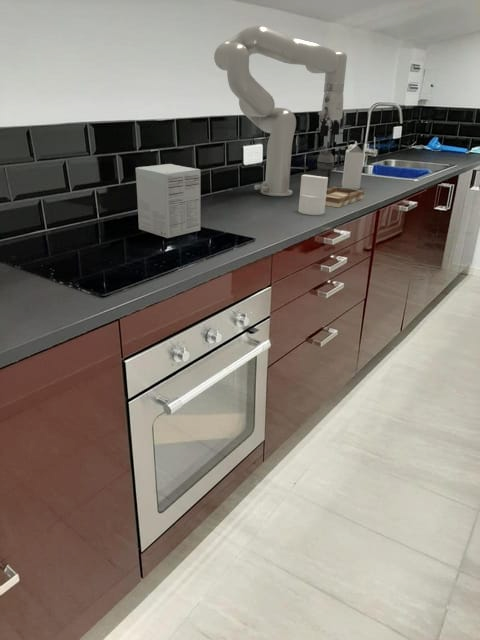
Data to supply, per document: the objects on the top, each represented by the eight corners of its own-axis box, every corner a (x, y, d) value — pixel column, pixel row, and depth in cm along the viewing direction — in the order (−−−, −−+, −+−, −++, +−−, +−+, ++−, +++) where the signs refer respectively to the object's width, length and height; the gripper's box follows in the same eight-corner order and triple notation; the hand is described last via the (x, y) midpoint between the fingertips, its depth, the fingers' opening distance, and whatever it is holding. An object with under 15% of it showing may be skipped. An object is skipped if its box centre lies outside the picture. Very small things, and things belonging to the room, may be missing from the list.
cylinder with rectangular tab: (328, 211, 173) (332, 176, 167) (318, 216, 166) (322, 179, 160) (304, 207, 177) (307, 173, 171) (294, 212, 170) (297, 176, 164)
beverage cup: (318, 192, 203) (323, 141, 194) (311, 189, 209) (316, 139, 201) (334, 192, 205) (340, 141, 196) (327, 188, 211) (332, 139, 203)
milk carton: (357, 186, 219) (363, 141, 211) (359, 189, 212) (365, 143, 204) (341, 185, 219) (347, 140, 211) (342, 188, 213) (348, 142, 205)
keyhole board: (338, 207, 179) (339, 198, 177) (307, 202, 185) (308, 193, 184) (363, 198, 195) (364, 190, 193) (333, 193, 202) (334, 185, 200)
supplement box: (201, 230, 145) (202, 169, 137) (167, 239, 136) (165, 173, 128) (172, 221, 152) (170, 163, 145) (137, 229, 143) (134, 167, 136)
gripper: (332, 88, 182) (327, 137, 190) (352, 88, 195) (347, 134, 202) (314, 88, 186) (310, 136, 194) (335, 88, 199) (330, 133, 206)
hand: (329, 135), depth 198 cm, fingers open, 9 cm apart
